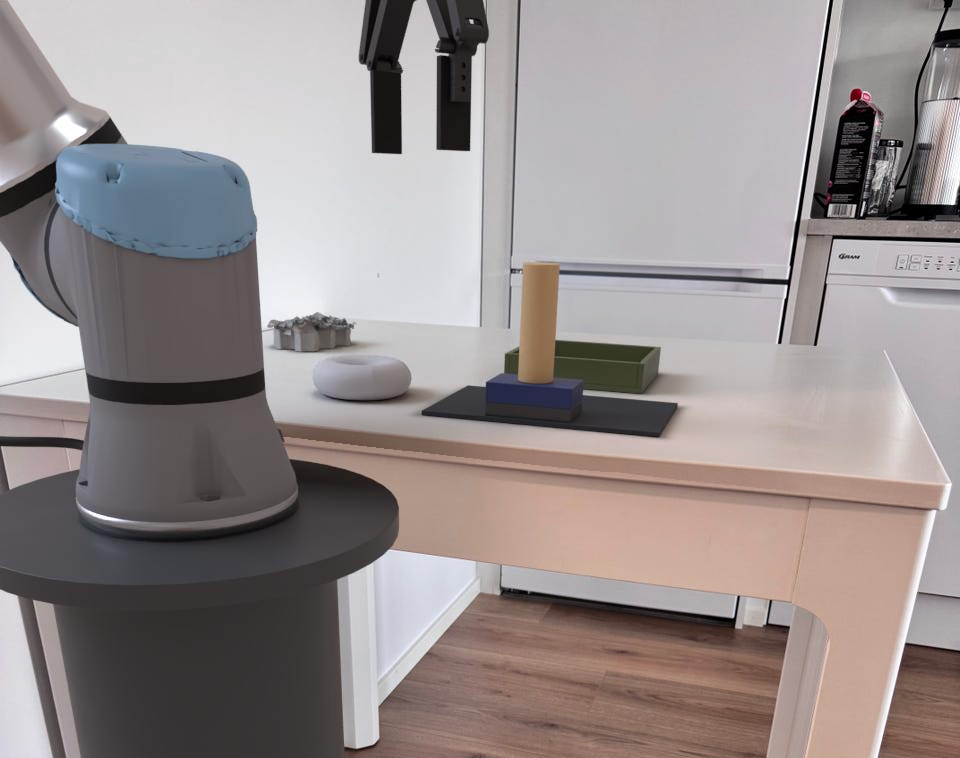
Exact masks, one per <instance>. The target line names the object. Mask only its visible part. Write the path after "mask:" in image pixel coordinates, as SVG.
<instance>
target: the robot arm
mask: <svg viewBox="0 0 960 758" xmlns="http://www.w3.org/2000/svg"><path fill="white" fill-rule="evenodd" d="M416 1H417V0H365V1H364V2H365V3H364V11H363V17H362V27H361V35H360V41H359V48H358V49H359V50H358V62H359V64H360V65H363V66H366V70H367V71H368V72H369V78H370V79H369V82H370V83H369V84H370V85H369V87H370V88H369V90H370V127H371V129H370V131H371V132H370V133H371V154H382V155H383V154H385V155H386V154H387V155H402V154H403V125H402V124H403V120H402V117H403V116H402V115H403V114H402V113H403V112H402V111H403V110H402V109H403V108H402V105H403V104H402V74H403V73H404V70H403V67H402V64H401V63H400V61H399V59H400V55H401V51H402V48H403V45H404V40H405V37H406V33H407V29H408V25H409V22H410V18H411V14H412V10H413V6H414V3H415V2H416ZM425 1H426V4H427V7H428V10H429V12H430V16H431V19H432V22H433V25H434V27H435V31H436V33H437V36H438V40H437V43H436V46H435V48H434V52H435V53H437V54H440V55H437V56H436V124H435V125H436V127H435V128H436V129H435V131H436V134H435V135H436V136H435V137H436V143H435V144H436V146H435V147H436V148H435V150H436V151H452V152H453V151H454V152H471V135H472V133H471V130H472V129H471V128H472V127H471V126H472V78H473V77H472V75H473V73H472V69H473V67H472V66H473V57H474V56H476V54H477V52H478V46H479V45H480V44H484V45H485V44H487V43H488V40H489V37H490V30H489V25H488V19H487V14H486V13H487V12H486V9H485V3H484V0H425ZM471 21H472V23H471ZM444 54H445V55H444ZM446 54H448V55H446ZM252 198H253V197H252V192H251V185H250V181H249V178H248V176H247V174H246V173H245V171H244V170H243V168H242V167H241V166H240V165H239V164H237V162H235V161H233V160H232V159H229V158H226V157H224V156H220V155H217V154H213V153H208V152H202V151H199V150H198V151H197V150H196V151H193V150H185V149H183V148H182V149H181V148H176V147H169V146H168V147H166V146H157V145H156V146H155V145H145V144H129V143H128V142H127V140H126V139H125V137H124V136H123V134H122V133H121V131H120V129H119V128H118V127H117V125H116V124H115V122H114V121H113V119H112V117H111V115H109V112H107V110H105V109H101V108H99V107H96V106H92V105H91V104H88V103H84V102H81V101H79V100H77V99H76V98H74V97H73V96H72V95H71V94H70V92H69V91H68V89H67V88H66V87H65V85H64V83H63V82H62V80H61V79H60V77H59V76H58V74H57V73H56V71H55V70H54V68H53V67H52V65H51V63H50V62H49V61H48V59H47V58H46V56H45V54H44V53H43V51H42V50H41V49H40V47H39V45H38V44H37V43H36V41H35V40H34V38H33V36H32V35H31V33H30V32H29V30H28V29H27V27H26V26H25V24H24V23H23V21H22V19H20V17H19V14H18V13H17V12H16V11H15V9H14V7H13V6H12V4H11V3H10V2H9V0H0V243H1V245H2V246H3V247H4V248H5V250H6V251H7V253H9V256H10V258H11V261H12V262H13V268H14V269H15V270H16V272H17V273H18V276H19V278H20V281H21V283H22V284H23V286H24V287H25V288H26V289H27V292H29V293H30V294H31V296H32V297H33V298H34V299H35V300H36V301H37V302H38V303H39V304H40V305H41V306H42V307H43V308H45V310H47V311H48V312H50V313H51V314H52V315H54V316H55V317H56V318H59V319H61V320H63V321H64V322H66V323H68V324H70V325H73V326H74V327H76V328H78V331H79V338H80V345H81V352H82V357H83V358H82V359H83V364H84V371H85V376H86V383H87V390H88V399H89V411H88V415H87V422H86V428H85V433H84V439H79V438H72V437H63V436H62V437H61V436H60V437H59V436H57V437H56V436H11V435H9V436H5V435H0V447H4V448H5V447H9V448H16V447H18V448H62V449H72V450H77V451H81V456H80V464H79V469H80V472H79V476H78V478H77V482H76V503H77V510H78V516H79V520H80V521H81V523H82V524H84V525H85V526H86V527H88V528H89V529H91V530H93V531H96V532H98V533H101V534H104V535H108V536H112V537H117V538H122V539H129V540H137V541H150V542H188V541H202V540H212V539H220V538H226V537H232V536H238V535H242V534H247V533H251V532H255V531H258V530H262V529H265V528H268V527H270V526H273V525H275V524H278V523H280V522H282V521H284V520H285V519H287V518H288V517H290V516H291V515H292V514H294V513H295V511H296V510H297V508H298V505H299V499H298V485H297V483H296V476H295V472H294V470H293V467H292V466H291V463H290V460H289V459H290V458H289V455H288V452H287V448H286V446H285V443H286V442H285V441H286V440H285V439H284V436H283V433H282V430H281V429H279V428H278V427H277V424H276V421H275V419H274V416H273V414H272V411H271V409H270V406H269V403H268V399H267V391H266V376H265V375H266V374H265V361H264V360H265V359H264V358H265V357H264V344H263V343H264V342H263V329H262V328H263V327H262V314H261V311H262V310H261V297H260V295H261V294H260V280H259V263H258V248H257V246H258V245H257V232H258V217H257V215H256V214H255V210H254V206H253V199H252Z"/></svg>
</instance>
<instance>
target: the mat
mask: <svg viewBox="0 0 960 758" xmlns="http://www.w3.org/2000/svg"><path fill="white" fill-rule="evenodd" d="M485 395H486V386H482V385H481V386H480V385H466V386H464V387H462V388H460V389H459V390H457V391H455V392H453V393H451V394H450V395H448V396H445V397H444V398H442V399H440V400H439V401H436V402H435V403H433V404H431V405H430V406H428V407H425V408H424V409H422V410H421V415H422V416H429V417H440V418H453V419H460V420H461V419H462V420H471V421H472V420H473V421H484V422H493V423H494V422H495V423H506V424H516V425H524V426H525V425H526V426H537V427H548V428H558V429H569V430H580V431H589V432H590V431H592V432H599V433H609V434H621V435H633V436H643V437H653V438H659V437H660V435H661V434H662V433H663V430H664V429H665V427H666V426H667V424H668V423H669V421H670V420H671V418H672V416H673V415H674V413H675V412H676V410H677V409H678V405H679V403H678V402H671V401H658V400H647V399H634V398H624V397H623V398H621V397H612V396H611V397H610V396H600V395H588V394H587V395H585V394H583V399H582V412H581V413H580V414H579V415H578V416H577V417H576V418H575V419H573V420H572V421H571V422H570V423H566V422H555V421H544V420H533V419H523V418H512V417H501V416H490V415H485Z"/></svg>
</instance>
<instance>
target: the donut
mask: <svg viewBox="0 0 960 758" xmlns="http://www.w3.org/2000/svg"><path fill="white" fill-rule="evenodd" d="M311 377H312V381H313V385H314V387H315V388H316V390H317V391H318V392H319V393H321V394H323V395H325V396H327V397H330V398H333V399H338V400H339V399H340V400H347V401H377V400H378V401H379V400H389V399H393V398H396V397H399V396H401V395H403V394H404V393H405V392H406V391H407V390H408V389H409V388H410V386H411V384H412V379H413V378H412V372H411V370H410V368H409V366H408V365H407V364H406V363H405V362H404V361H403V360H400V359H398V358H395V357H391V356H386V355H375V354H342V355H334V356H328V357H326V358H325V357H324V358H323V359H322V360H320V361H318V362H317V363H316V364H315V365H314V367H313V369H312V375H311Z"/></svg>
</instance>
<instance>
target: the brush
mask: <svg viewBox="0 0 960 758" xmlns="http://www.w3.org/2000/svg"><path fill="white" fill-rule="evenodd" d="M560 266H561V265H560V263H557V262H544V261H527V262H523V263H522V274H521V275H522V278H521V299H520V301H521V302H520V324H519V325H520V326H519V344H518V345H519V346H518V347H519V368H518V375H517V374H505V373H504V372H502V373H501V372H500V373H499V374H498V375H496V376H494V377H492V378H490V379H488V380H487V381H485V387H486V395H485V415H490V416H501V417H512V418H523V419H533V420H544V421H555V422H566V423H570V422H571V421H572V420H573V419H575V418H576V417H577V416H578V415H579V414H580V413H581V412H582V399H583V395H584V389H583V385H584V380H579V379H567V378H554V377H553V372H554V355H555V340H556V337H557V320H558V303H559V302H558V301H559V286H560V285H559V284H560V283H559V282H560V269H561V267H560Z"/></svg>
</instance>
